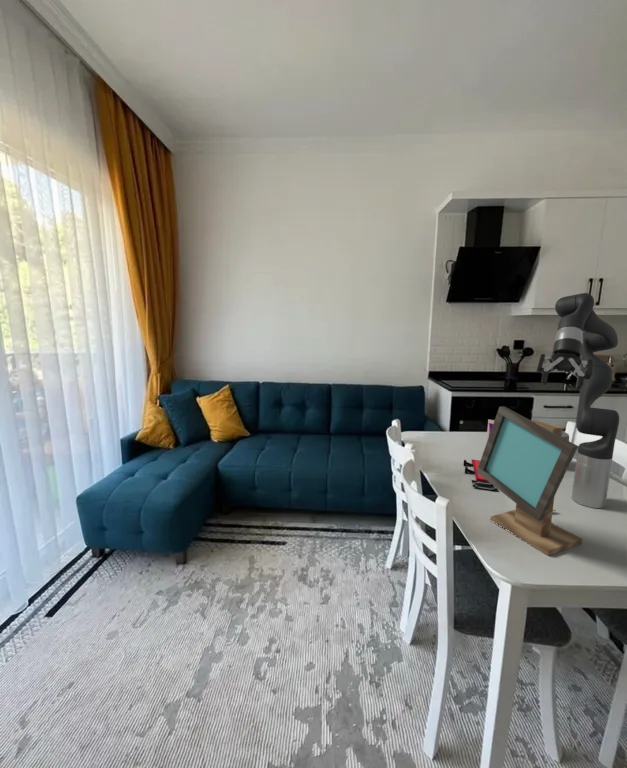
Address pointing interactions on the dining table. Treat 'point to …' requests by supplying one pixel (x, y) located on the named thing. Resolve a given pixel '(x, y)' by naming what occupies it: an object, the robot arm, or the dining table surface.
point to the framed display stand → (538, 522)
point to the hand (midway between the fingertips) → (560, 386)
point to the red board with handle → (478, 476)
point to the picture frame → (525, 461)
